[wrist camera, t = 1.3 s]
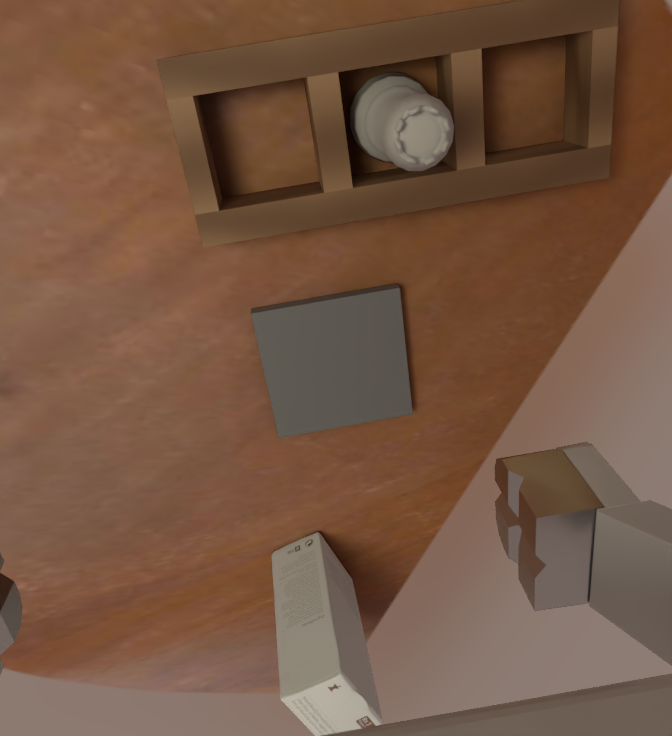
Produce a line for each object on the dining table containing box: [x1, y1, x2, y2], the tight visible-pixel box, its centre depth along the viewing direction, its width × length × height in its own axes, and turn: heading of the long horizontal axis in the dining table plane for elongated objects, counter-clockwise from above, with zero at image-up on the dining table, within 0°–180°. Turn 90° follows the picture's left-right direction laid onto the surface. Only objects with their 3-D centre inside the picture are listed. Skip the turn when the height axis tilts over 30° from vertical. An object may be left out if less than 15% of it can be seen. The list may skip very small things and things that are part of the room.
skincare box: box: [272, 532, 382, 736], centre depth 43 cm, size 6×4×12 cm
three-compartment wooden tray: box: [157, 0, 620, 248], centre depth 33 cm, size 9×22×3 cm, turn 98°
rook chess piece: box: [350, 73, 454, 171], centre depth 31 cm, size 4×4×8 cm
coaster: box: [251, 283, 413, 438], centre depth 40 cm, size 9×9×1 cm
